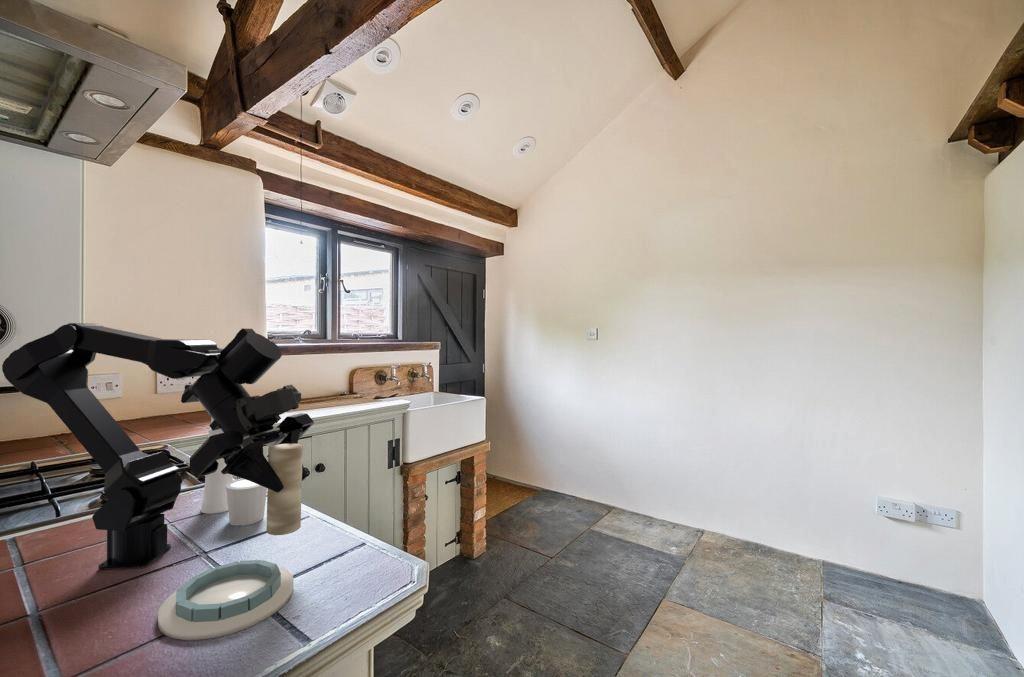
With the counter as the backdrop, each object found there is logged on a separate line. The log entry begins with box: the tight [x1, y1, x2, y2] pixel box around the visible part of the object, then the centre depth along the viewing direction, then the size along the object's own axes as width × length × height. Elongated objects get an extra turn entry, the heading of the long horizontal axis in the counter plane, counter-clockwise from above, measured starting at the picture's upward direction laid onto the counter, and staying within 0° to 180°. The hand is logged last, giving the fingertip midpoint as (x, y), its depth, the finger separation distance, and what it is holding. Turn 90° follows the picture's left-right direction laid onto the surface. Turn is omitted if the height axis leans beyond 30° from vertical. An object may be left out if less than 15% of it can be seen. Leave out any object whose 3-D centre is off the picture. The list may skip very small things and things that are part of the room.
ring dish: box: [157, 559, 295, 641], centre depth 59 cm, size 15×15×2 cm
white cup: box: [226, 478, 267, 527], centre depth 85 cm, size 7×7×7 cm
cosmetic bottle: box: [200, 416, 234, 515], centre depth 89 cm, size 6×6×22 cm
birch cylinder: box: [265, 443, 304, 536], centre depth 66 cm, size 4×4×12 cm
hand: (292, 484), depth 65 cm, fingers closed on birch cylinder, 4 cm apart
